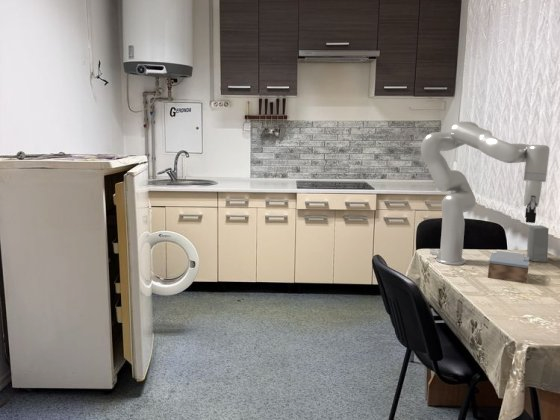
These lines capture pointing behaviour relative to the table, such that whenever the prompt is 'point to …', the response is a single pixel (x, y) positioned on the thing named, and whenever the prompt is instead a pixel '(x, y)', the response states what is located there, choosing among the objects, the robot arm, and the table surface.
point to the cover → (509, 259)
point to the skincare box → (537, 243)
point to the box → (508, 273)
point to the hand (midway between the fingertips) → (529, 220)
